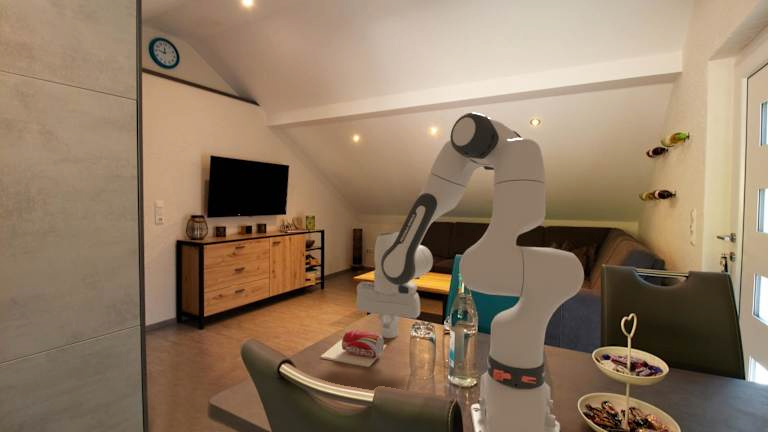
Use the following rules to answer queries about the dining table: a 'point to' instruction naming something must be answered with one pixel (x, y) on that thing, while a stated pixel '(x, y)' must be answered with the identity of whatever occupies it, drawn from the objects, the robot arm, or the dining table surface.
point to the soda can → (363, 343)
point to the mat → (347, 356)
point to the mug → (390, 332)
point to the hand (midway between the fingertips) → (387, 328)
